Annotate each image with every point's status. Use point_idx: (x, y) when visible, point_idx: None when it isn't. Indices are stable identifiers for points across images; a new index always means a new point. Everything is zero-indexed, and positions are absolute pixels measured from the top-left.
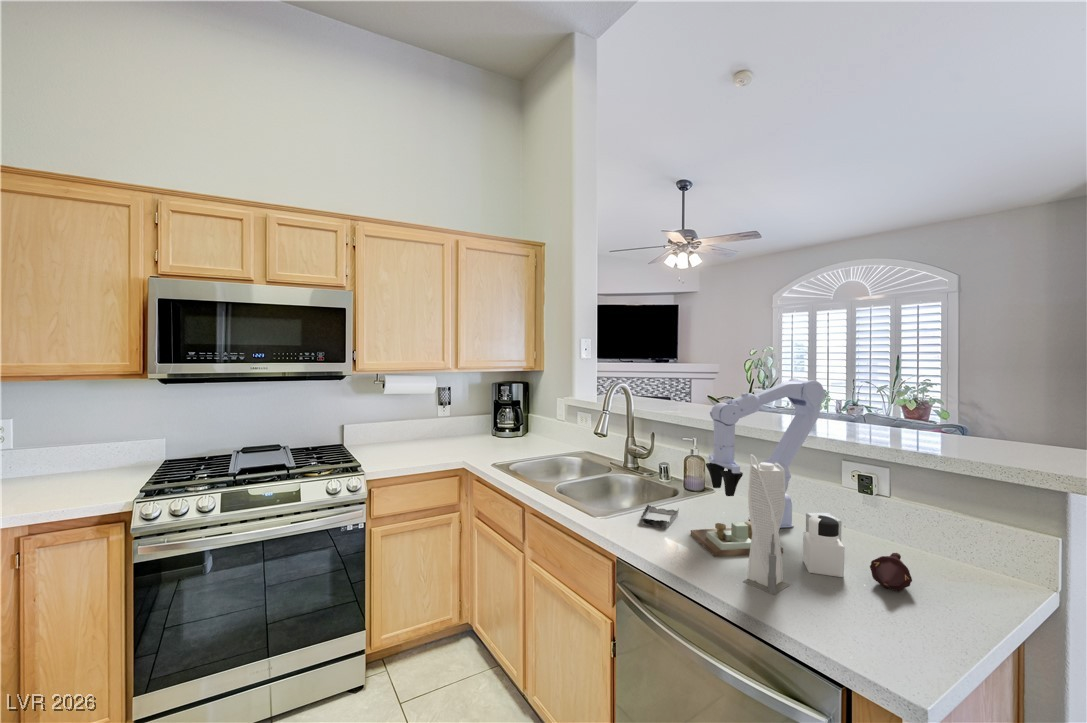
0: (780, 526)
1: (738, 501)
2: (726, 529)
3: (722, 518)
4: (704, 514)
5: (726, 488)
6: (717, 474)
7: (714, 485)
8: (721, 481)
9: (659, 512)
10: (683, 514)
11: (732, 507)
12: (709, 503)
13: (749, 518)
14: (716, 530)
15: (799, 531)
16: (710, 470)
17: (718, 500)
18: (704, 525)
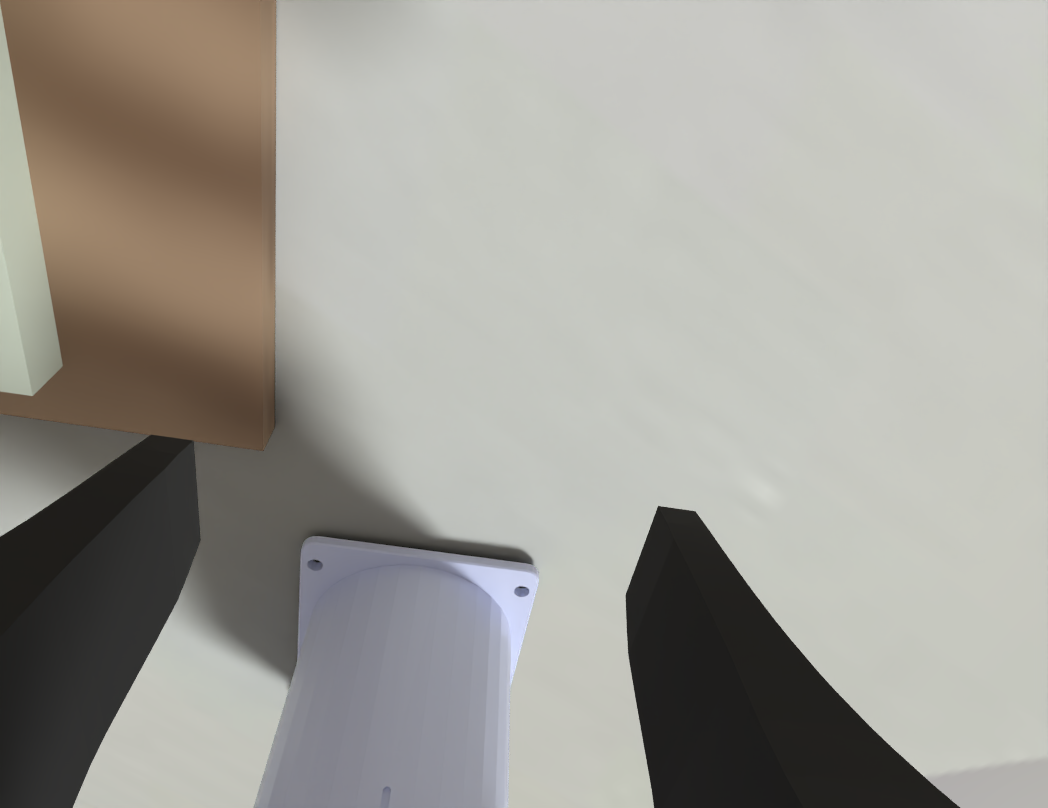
0: (298, 646)
1: (896, 713)
2: (222, 172)
3: (638, 389)
4: (813, 293)
5: (34, 519)
6: (696, 800)
7: (663, 548)
8: (638, 706)
9: None
10: (953, 42)
11: (818, 612)
12: (1015, 515)
13: (512, 567)
14: (202, 23)
15: (234, 692)
16: (798, 804)
17: (1015, 616)
18: (530, 71)
